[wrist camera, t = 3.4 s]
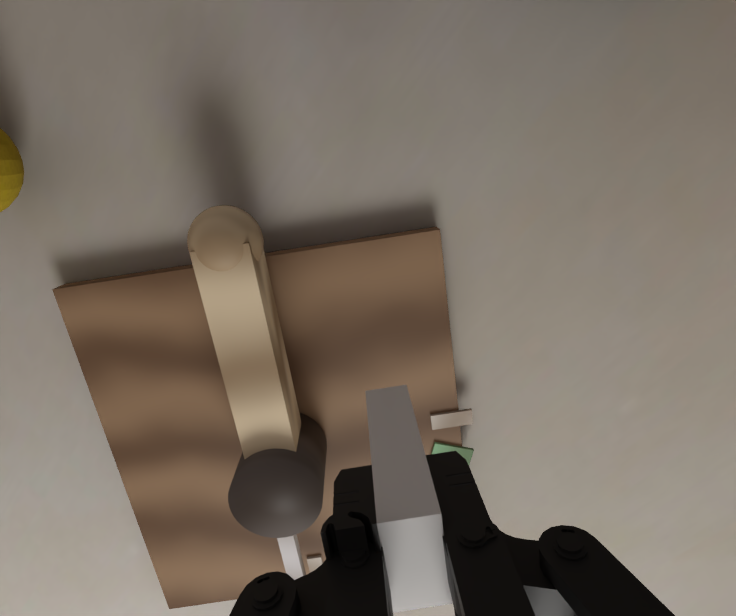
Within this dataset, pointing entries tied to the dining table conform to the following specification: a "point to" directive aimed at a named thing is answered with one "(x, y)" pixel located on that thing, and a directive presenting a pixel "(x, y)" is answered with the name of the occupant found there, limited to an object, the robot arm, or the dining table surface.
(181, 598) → the board
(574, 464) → the dining table surface
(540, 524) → the dining table surface
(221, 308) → the tan long two-tone device
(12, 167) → the lemon
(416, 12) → the dining table surface
